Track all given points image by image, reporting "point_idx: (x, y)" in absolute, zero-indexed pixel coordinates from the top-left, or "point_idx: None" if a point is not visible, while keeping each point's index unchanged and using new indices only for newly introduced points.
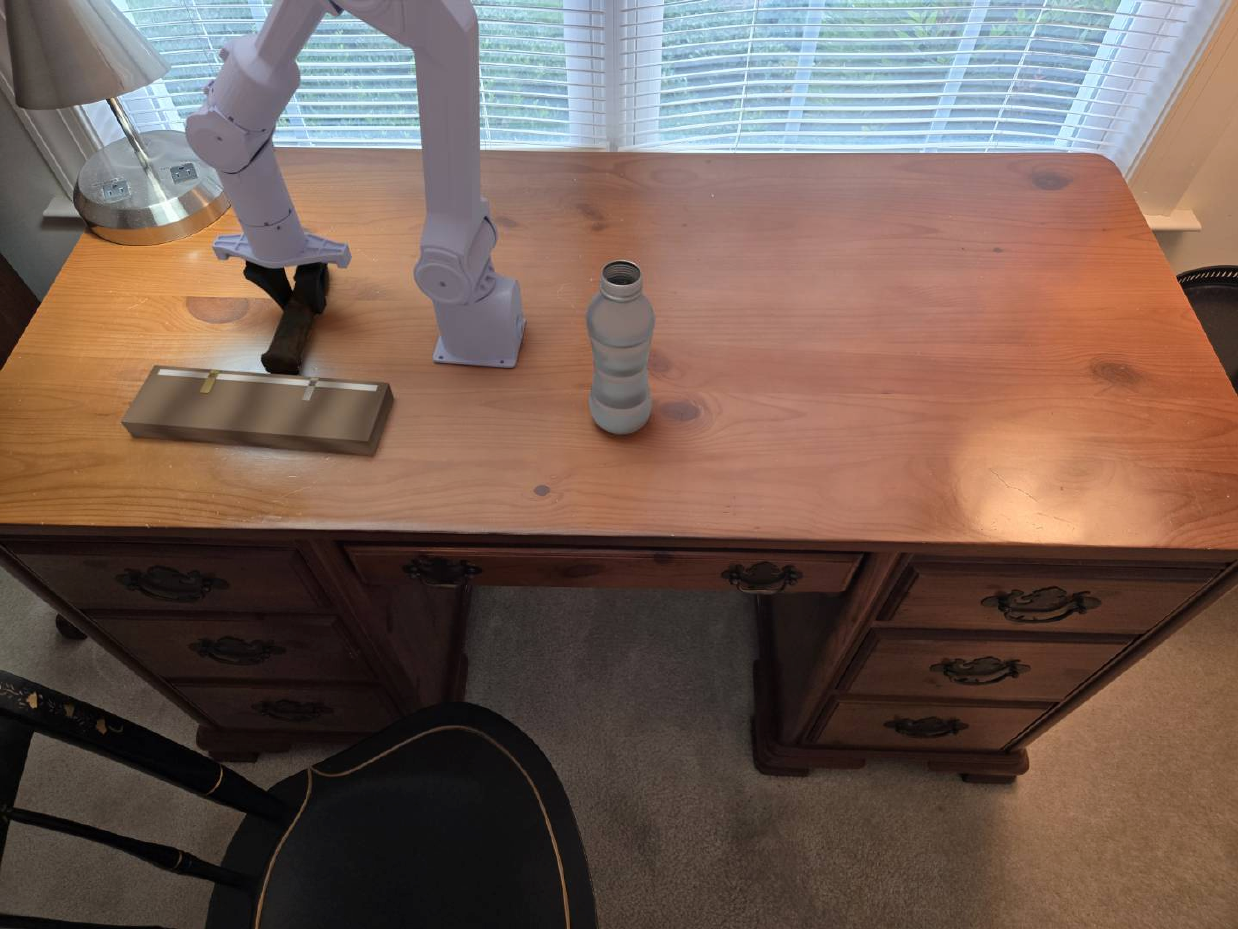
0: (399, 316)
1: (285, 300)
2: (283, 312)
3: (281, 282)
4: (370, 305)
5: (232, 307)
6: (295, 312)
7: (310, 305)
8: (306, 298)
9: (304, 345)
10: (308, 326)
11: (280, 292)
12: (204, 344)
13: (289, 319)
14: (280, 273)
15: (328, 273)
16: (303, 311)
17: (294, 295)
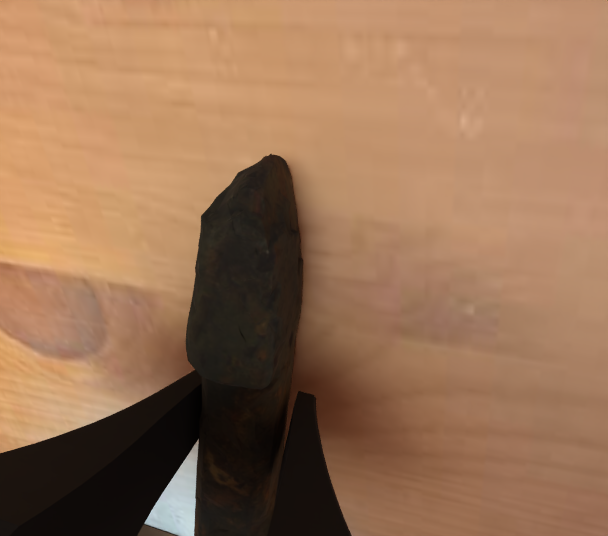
0: (533, 424)
1: (190, 439)
2: (197, 482)
3: (151, 469)
4: (440, 364)
5: (65, 308)
6: (234, 511)
7: (273, 464)
8: (257, 462)
9: None
10: (276, 488)
11: (164, 476)
12: (55, 413)
13: (223, 532)
14: (128, 486)
15: (295, 206)
16: (258, 506)
17: (214, 443)
